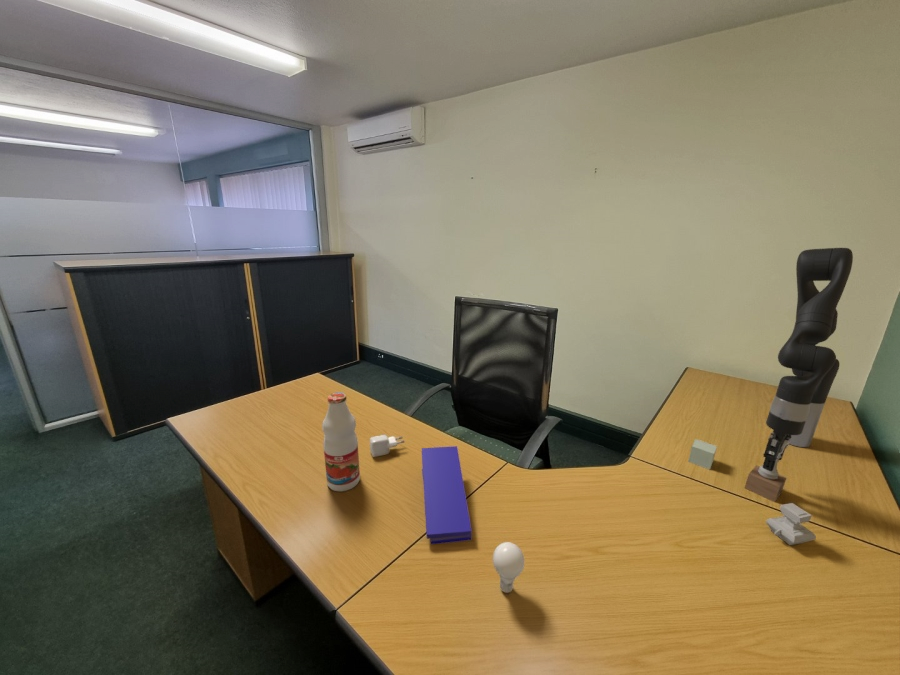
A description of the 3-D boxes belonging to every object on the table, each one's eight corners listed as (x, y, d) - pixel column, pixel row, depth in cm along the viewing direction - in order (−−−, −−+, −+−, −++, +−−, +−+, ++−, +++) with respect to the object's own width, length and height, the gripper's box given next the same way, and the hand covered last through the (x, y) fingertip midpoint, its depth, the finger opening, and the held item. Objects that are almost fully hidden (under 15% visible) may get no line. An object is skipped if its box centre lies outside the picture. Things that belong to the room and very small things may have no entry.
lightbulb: (488, 576, 78) (490, 535, 75) (517, 574, 78) (520, 534, 75) (494, 605, 72) (497, 562, 69) (525, 602, 72) (529, 560, 69)
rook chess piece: (781, 481, 102) (789, 457, 100) (763, 479, 103) (771, 455, 100) (771, 471, 106) (778, 448, 104) (754, 469, 107) (761, 446, 105)
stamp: (787, 551, 85) (797, 523, 83) (759, 529, 91) (768, 502, 89) (816, 546, 87) (827, 518, 84) (787, 525, 93) (796, 498, 91)
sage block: (691, 454, 123) (695, 438, 121) (712, 461, 119) (717, 446, 117) (688, 461, 118) (691, 446, 117) (709, 470, 114) (714, 453, 113)
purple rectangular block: (455, 469, 113) (455, 442, 110) (474, 542, 87) (475, 509, 84) (419, 472, 111) (418, 445, 109) (427, 548, 85) (426, 514, 82)
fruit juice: (362, 471, 111) (357, 388, 103) (356, 492, 102) (350, 403, 94) (332, 471, 111) (324, 388, 103) (323, 492, 102) (313, 404, 94)
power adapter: (401, 444, 125) (401, 429, 124) (405, 451, 121) (405, 436, 119) (369, 451, 121) (369, 435, 119) (372, 459, 117) (371, 443, 115)
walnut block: (752, 479, 110) (756, 465, 109) (781, 492, 105) (786, 477, 104) (744, 487, 106) (748, 473, 105) (774, 502, 101) (779, 487, 100)
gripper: (777, 401, 105) (763, 449, 110) (762, 415, 97) (747, 466, 102) (812, 411, 100) (795, 461, 104) (799, 427, 91) (781, 480, 96)
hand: (771, 463), depth 103 cm, fingers open, 8 cm apart
